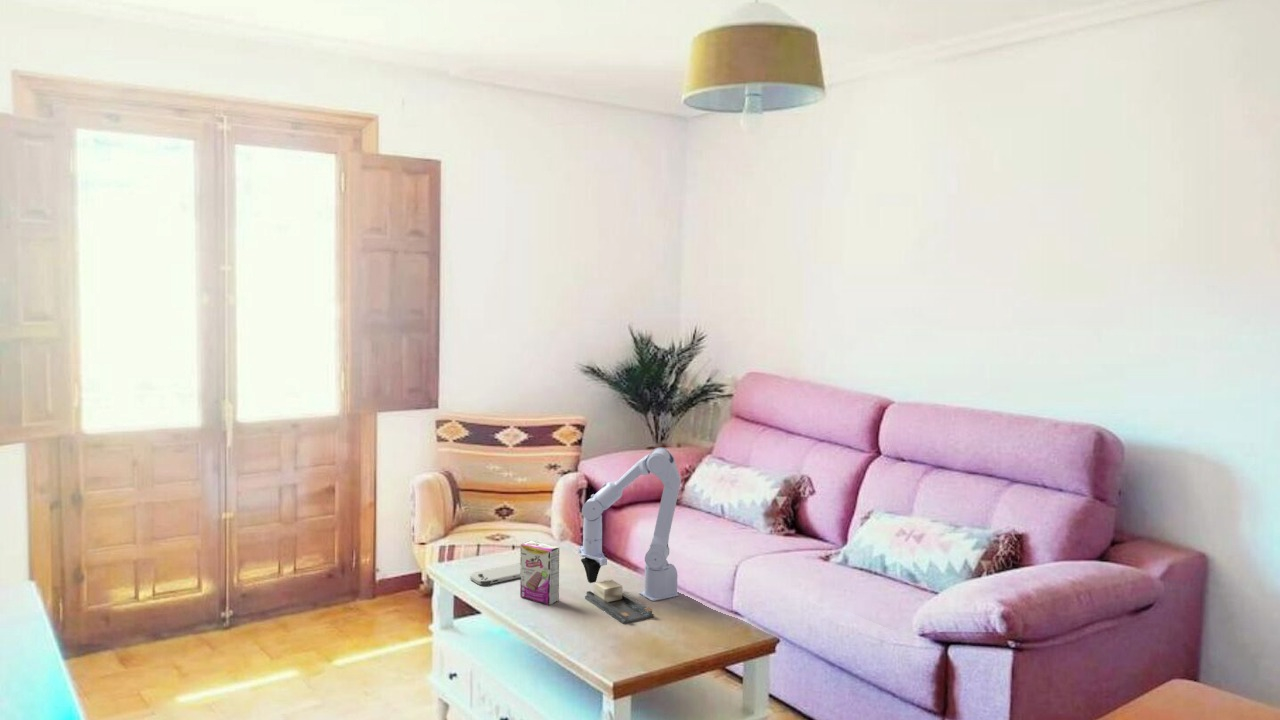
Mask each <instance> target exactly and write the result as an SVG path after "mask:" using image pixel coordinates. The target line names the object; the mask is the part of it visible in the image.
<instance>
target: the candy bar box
mask: <svg viewBox="0 0 1280 720" xmlns="http://www.w3.org/2000/svg"><path fill="white" fill-rule="evenodd" d="M520 563H521V574H520V576H521V578H520V585H519V586H520V593H519V594H520V596H519V597H520V598H522V599H526V600H530V601H532V602H537V603H541V604H544V605H546V606H547V605H548V606H550V604H551V605H553V604H555V603H556V601H557V602H558V601H559V600H560V597H559V596H560V547H559V546H555V545H552V544H546V543H542V542H539V541H534V540H528V541H525V542H522V543H521V544H520ZM554 602H555V603H554ZM552 603H553V604H552Z"/></svg>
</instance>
